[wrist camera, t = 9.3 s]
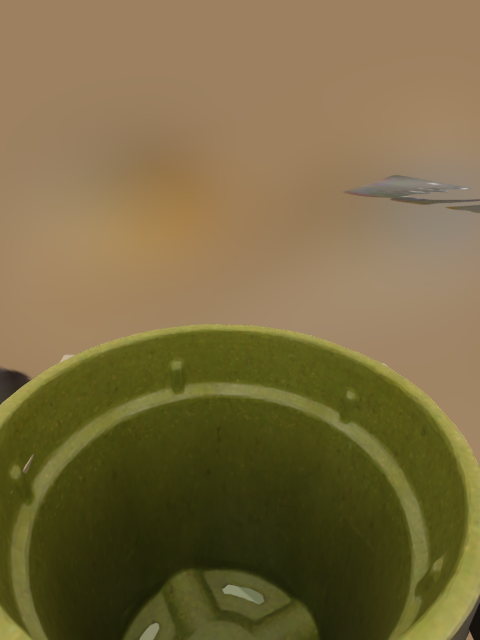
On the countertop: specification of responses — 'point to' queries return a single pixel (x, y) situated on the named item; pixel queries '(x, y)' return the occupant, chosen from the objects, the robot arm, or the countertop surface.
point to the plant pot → (233, 495)
